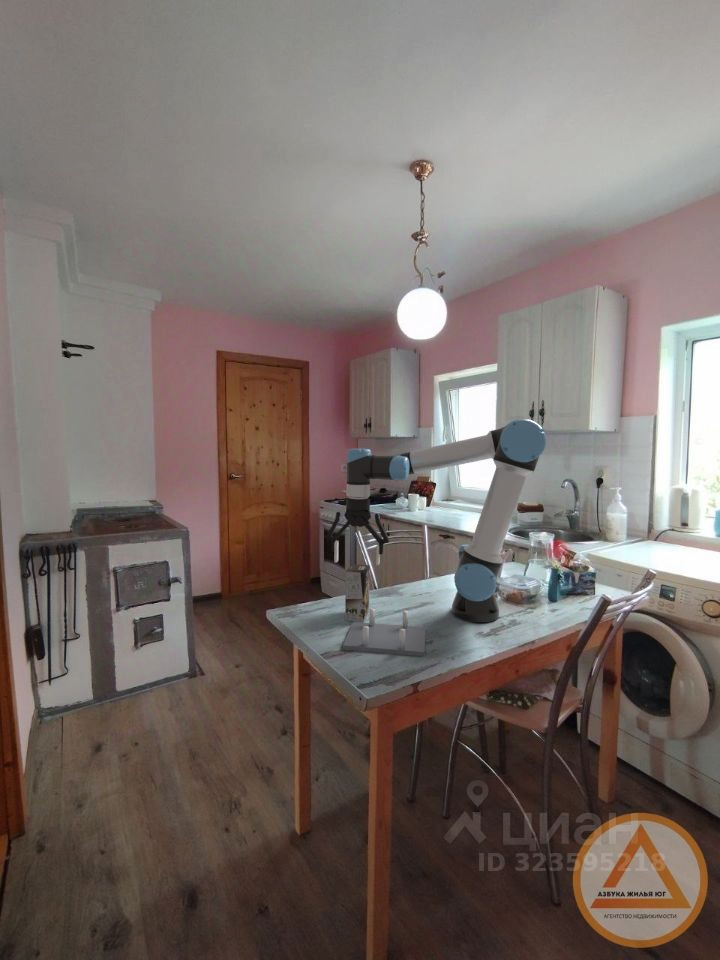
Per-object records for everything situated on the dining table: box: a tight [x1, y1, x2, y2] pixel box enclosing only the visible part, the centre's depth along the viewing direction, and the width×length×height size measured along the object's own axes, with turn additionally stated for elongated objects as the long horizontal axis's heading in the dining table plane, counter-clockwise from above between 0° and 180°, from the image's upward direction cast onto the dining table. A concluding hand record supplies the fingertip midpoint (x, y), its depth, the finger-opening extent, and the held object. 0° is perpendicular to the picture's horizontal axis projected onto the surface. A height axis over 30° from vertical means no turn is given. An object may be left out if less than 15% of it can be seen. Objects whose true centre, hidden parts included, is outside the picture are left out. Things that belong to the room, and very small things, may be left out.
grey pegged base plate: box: [342, 607, 426, 657], centre depth 127 cm, size 22×16×6 cm
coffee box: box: [344, 564, 370, 623], centre depth 143 cm, size 9×6×16 cm
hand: (356, 562), depth 142 cm, fingers open, 13 cm apart
